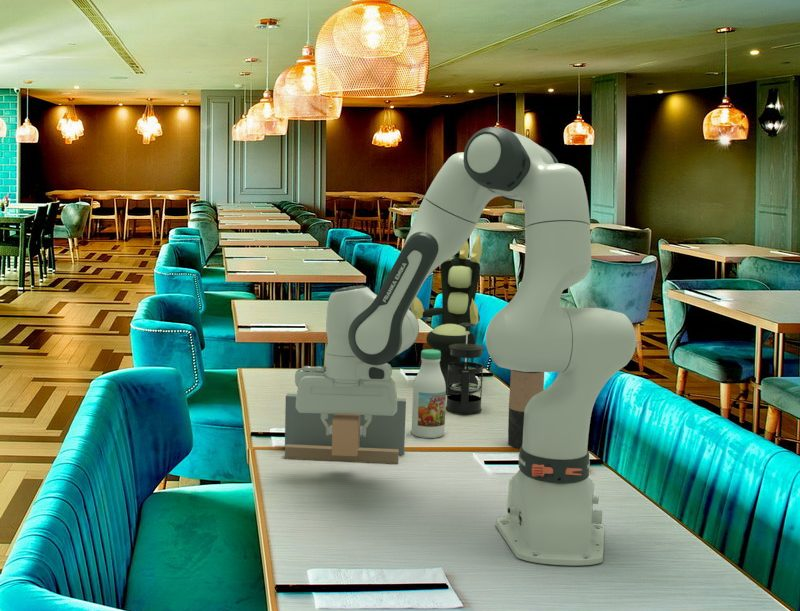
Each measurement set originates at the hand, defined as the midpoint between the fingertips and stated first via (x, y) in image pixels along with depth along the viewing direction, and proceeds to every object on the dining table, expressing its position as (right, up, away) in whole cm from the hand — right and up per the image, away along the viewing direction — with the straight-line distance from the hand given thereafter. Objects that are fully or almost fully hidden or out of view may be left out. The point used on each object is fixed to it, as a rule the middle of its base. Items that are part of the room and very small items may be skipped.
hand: (346, 435), depth 181 cm
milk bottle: (+17, -5, +32) cm, 37 cm away
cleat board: (-2, -6, +15) cm, 16 cm away
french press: (+27, -2, +55) cm, 61 cm away
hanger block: (0, -3, 0) cm, 3 cm away
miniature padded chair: (+25, +2, +81) cm, 85 cm away
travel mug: (+39, -6, +27) cm, 48 cm away
